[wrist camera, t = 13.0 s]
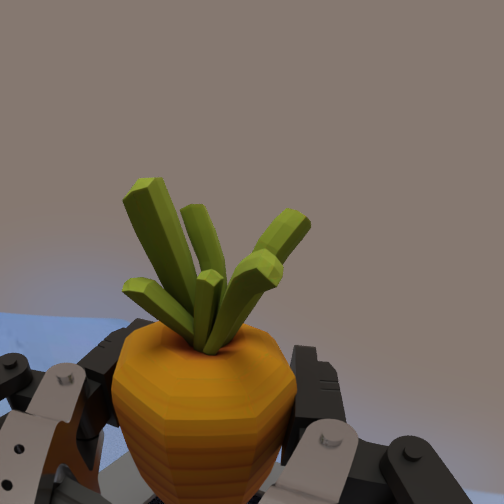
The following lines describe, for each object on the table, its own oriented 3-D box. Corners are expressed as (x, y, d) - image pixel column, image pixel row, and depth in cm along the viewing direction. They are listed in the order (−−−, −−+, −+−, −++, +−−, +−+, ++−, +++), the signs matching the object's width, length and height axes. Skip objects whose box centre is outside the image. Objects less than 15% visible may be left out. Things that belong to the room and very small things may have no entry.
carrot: (264, 492, 11) (325, 192, 8) (246, 565, 6) (353, 193, 3) (176, 471, 12) (163, 178, 9) (142, 535, 7) (39, 177, 4)
